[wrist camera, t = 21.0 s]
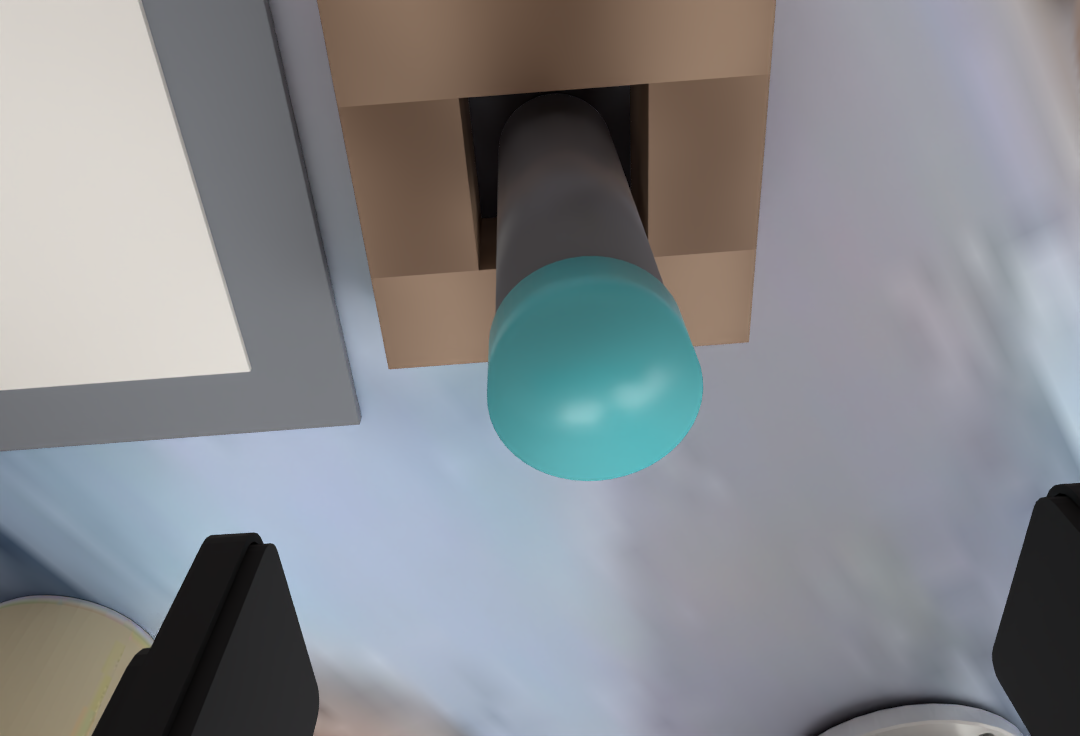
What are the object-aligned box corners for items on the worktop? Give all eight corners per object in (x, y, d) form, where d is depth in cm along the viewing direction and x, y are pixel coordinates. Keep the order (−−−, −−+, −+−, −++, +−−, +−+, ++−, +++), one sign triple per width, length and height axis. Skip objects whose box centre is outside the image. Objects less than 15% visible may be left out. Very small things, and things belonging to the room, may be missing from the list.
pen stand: (741, -77, 21) (781, -62, 18) (721, 285, 26) (748, 341, 23) (339, -45, 21) (312, -25, 18) (401, 308, 26) (388, 369, 23)
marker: (608, 71, 22) (707, 293, 12) (610, 184, 24) (699, 473, 13) (489, 80, 22) (476, 310, 12) (500, 193, 24) (497, 487, 13)
